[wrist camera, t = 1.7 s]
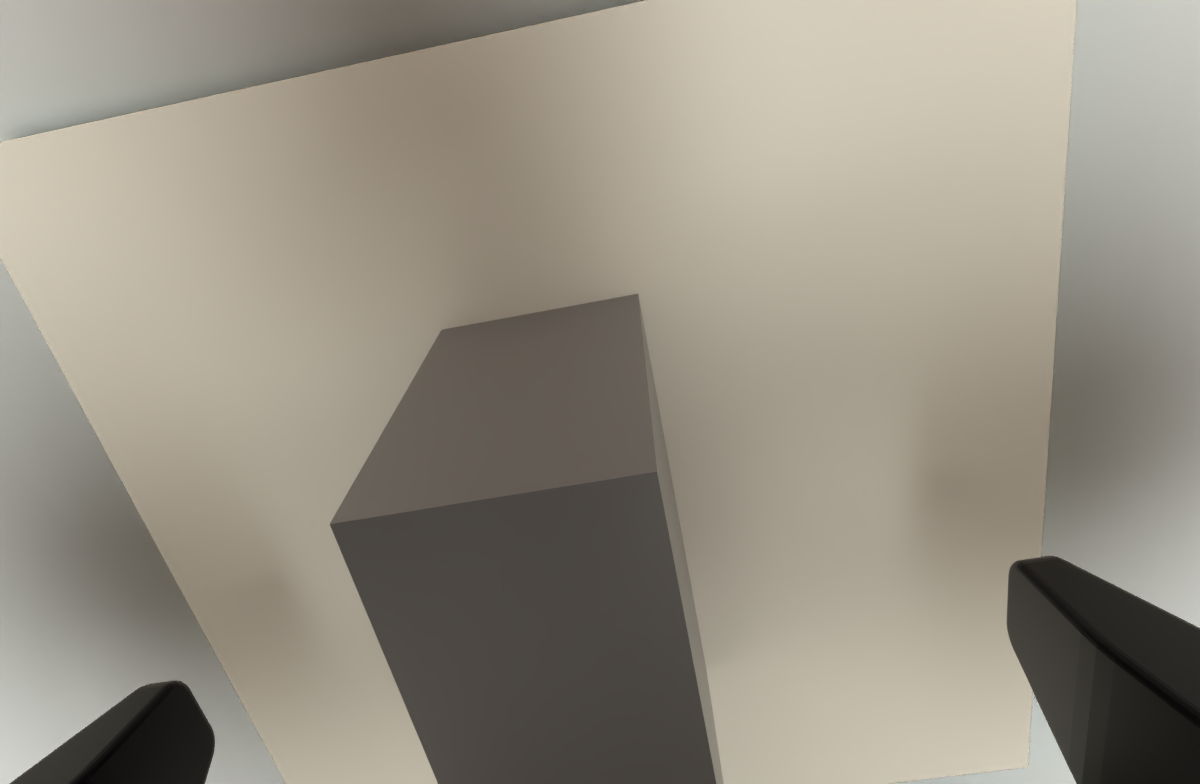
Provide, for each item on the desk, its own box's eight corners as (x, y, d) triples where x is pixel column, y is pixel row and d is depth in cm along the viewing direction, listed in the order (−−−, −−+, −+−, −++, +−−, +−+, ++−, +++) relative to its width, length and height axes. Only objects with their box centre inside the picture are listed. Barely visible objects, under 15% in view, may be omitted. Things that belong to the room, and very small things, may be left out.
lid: (1010, 735, 13) (1205, 1076, 9) (333, 818, 14) (213, 1154, 10) (1049, -87, 8) (1564, -230, 4) (-15, 146, 9) (-570, 246, 5)
